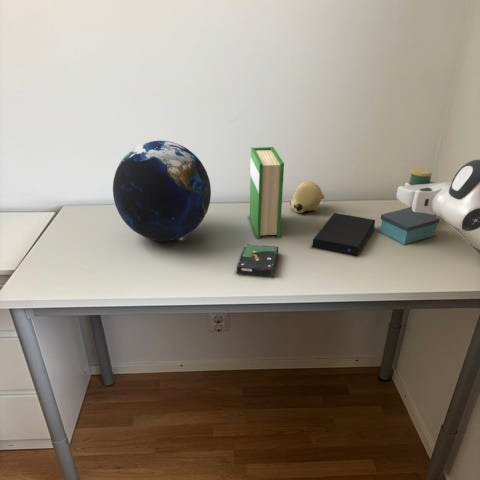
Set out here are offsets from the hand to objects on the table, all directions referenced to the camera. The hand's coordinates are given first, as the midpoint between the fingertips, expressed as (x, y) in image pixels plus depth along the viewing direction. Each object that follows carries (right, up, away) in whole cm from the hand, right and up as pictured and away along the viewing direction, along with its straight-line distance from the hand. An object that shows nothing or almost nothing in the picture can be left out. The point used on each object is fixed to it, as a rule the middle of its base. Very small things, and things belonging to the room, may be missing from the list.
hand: (417, 184), depth 160 cm
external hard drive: (-22, -16, +7) cm, 28 cm away
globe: (-79, -16, +6) cm, 81 cm away
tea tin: (0, -5, +2) cm, 6 cm away
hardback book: (-47, -11, +13) cm, 50 cm away
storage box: (0, -14, +9) cm, 17 cm away
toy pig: (-32, -3, +26) cm, 41 cm away
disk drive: (-50, -26, -9) cm, 57 cm away
